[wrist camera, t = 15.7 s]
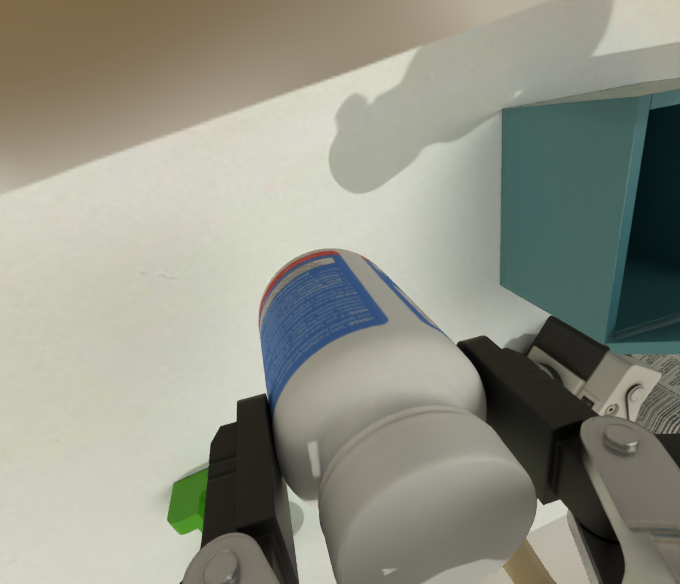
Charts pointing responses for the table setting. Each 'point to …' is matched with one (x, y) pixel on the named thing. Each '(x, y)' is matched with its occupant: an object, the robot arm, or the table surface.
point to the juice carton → (661, 395)
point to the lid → (650, 342)
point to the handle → (527, 567)
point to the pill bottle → (386, 429)
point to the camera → (593, 370)
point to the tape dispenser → (188, 503)
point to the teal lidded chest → (595, 208)
